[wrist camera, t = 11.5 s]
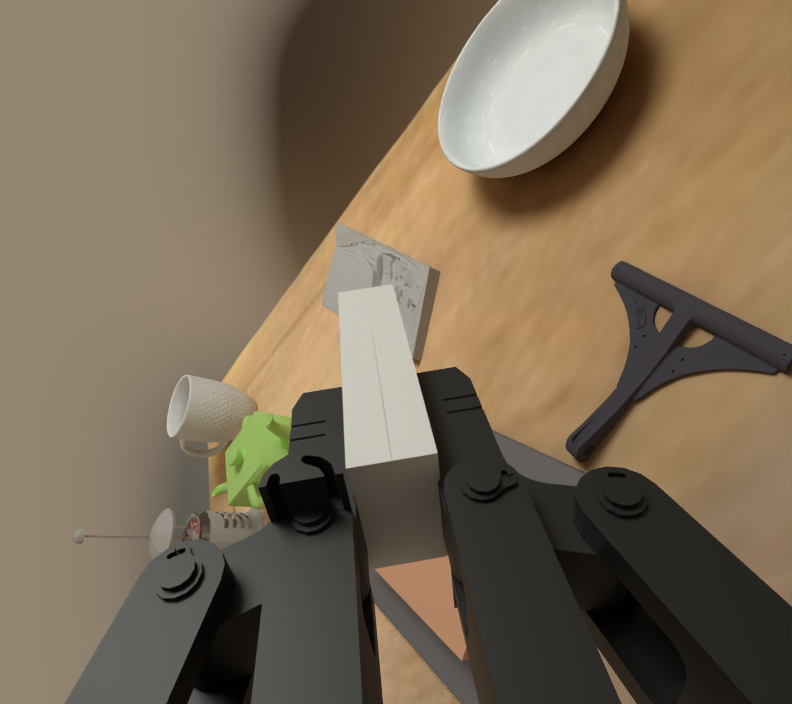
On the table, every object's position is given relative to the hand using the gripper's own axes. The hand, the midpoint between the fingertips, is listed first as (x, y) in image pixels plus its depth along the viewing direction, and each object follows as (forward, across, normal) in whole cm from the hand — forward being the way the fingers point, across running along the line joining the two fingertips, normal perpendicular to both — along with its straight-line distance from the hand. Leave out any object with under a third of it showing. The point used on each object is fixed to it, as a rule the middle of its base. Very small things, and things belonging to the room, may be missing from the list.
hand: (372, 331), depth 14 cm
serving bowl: (+43, +22, -1) cm, 49 cm away
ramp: (+49, +3, -23) cm, 54 cm away
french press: (+43, -26, -60) cm, 78 cm away
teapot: (+43, -14, -46) cm, 65 cm away
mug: (+62, -26, -51) cm, 85 cm away
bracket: (+16, +20, -18) cm, 31 cm away
